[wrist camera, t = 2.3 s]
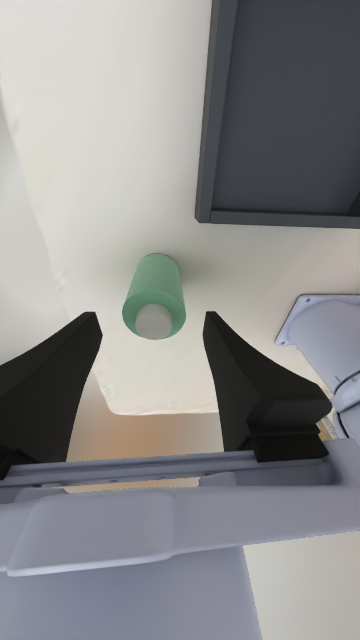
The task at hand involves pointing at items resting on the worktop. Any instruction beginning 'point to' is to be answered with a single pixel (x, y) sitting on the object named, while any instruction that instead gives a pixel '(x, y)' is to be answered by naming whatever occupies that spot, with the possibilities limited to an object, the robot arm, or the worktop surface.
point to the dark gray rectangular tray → (281, 115)
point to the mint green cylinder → (155, 299)
